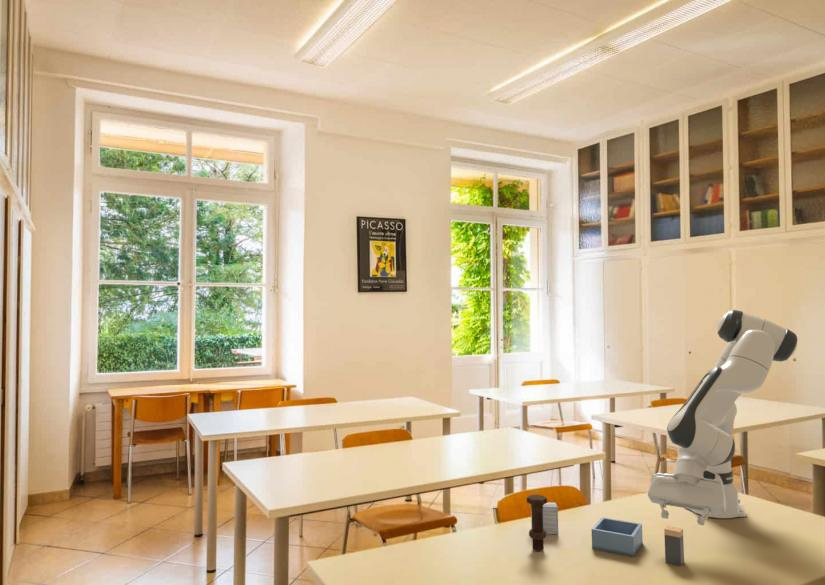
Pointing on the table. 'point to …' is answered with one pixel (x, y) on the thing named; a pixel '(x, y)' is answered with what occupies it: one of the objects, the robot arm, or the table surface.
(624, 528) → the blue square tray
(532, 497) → the bolt
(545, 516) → the medicine box
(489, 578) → the table surface
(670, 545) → the block
